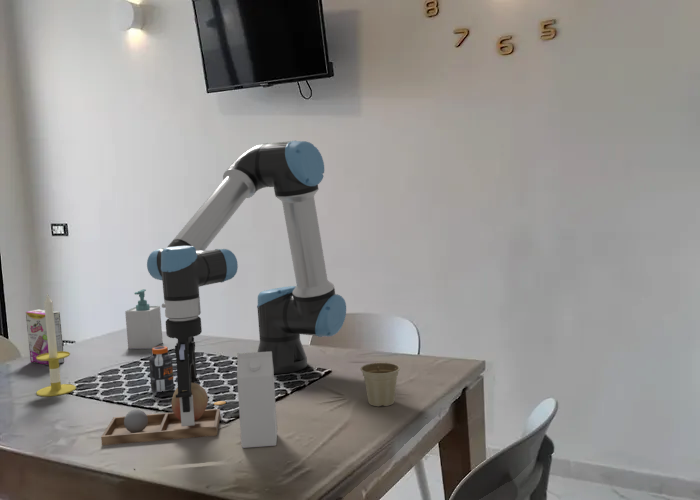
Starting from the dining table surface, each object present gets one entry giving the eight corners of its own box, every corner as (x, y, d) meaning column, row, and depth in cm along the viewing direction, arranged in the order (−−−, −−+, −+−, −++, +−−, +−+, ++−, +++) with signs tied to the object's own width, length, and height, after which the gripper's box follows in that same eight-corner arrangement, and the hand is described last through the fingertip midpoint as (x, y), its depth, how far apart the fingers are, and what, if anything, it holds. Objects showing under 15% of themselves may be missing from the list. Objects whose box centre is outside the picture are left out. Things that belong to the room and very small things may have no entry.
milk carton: (243, 436, 151) (238, 349, 149) (277, 433, 151) (272, 347, 149) (241, 448, 144) (235, 358, 142) (276, 446, 144) (271, 355, 142)
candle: (84, 387, 193) (75, 290, 190) (55, 398, 184) (45, 296, 181) (57, 383, 197) (49, 289, 194) (27, 394, 188) (18, 295, 185)
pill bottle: (167, 392, 184) (164, 350, 183) (147, 392, 186) (143, 350, 184) (177, 385, 190) (174, 344, 189) (157, 385, 191) (154, 344, 190)
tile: (232, 399, 176) (232, 397, 176) (230, 408, 169) (230, 406, 169) (191, 403, 175) (191, 401, 175) (188, 412, 168) (188, 410, 168)
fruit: (164, 424, 153) (162, 388, 152) (186, 412, 161) (183, 378, 160) (195, 427, 150) (192, 391, 149) (216, 415, 158) (213, 380, 157)
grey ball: (150, 427, 157) (148, 405, 156) (146, 435, 152) (144, 412, 151) (127, 429, 156) (125, 407, 156) (122, 437, 151) (121, 414, 151)
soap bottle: (127, 349, 235) (123, 292, 233) (139, 342, 244) (135, 288, 242) (151, 349, 234) (147, 292, 232) (163, 342, 242) (159, 288, 240)
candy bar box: (29, 362, 223) (24, 311, 221) (43, 358, 227) (38, 308, 225) (51, 366, 217) (46, 314, 215) (65, 362, 221) (60, 311, 219)
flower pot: (405, 397, 172) (404, 363, 171) (395, 410, 163) (394, 374, 162) (368, 395, 175) (367, 361, 174) (356, 407, 166) (355, 372, 165)
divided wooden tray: (220, 418, 162) (219, 408, 162) (217, 437, 150) (216, 427, 150) (114, 427, 160) (113, 417, 159) (102, 447, 148) (101, 436, 147)
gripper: (171, 309, 163) (178, 404, 165) (158, 328, 142) (166, 437, 145) (204, 307, 164) (211, 401, 166) (196, 326, 143) (203, 434, 145)
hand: (190, 418), depth 155 cm, fingers closed on fruit, 8 cm apart
